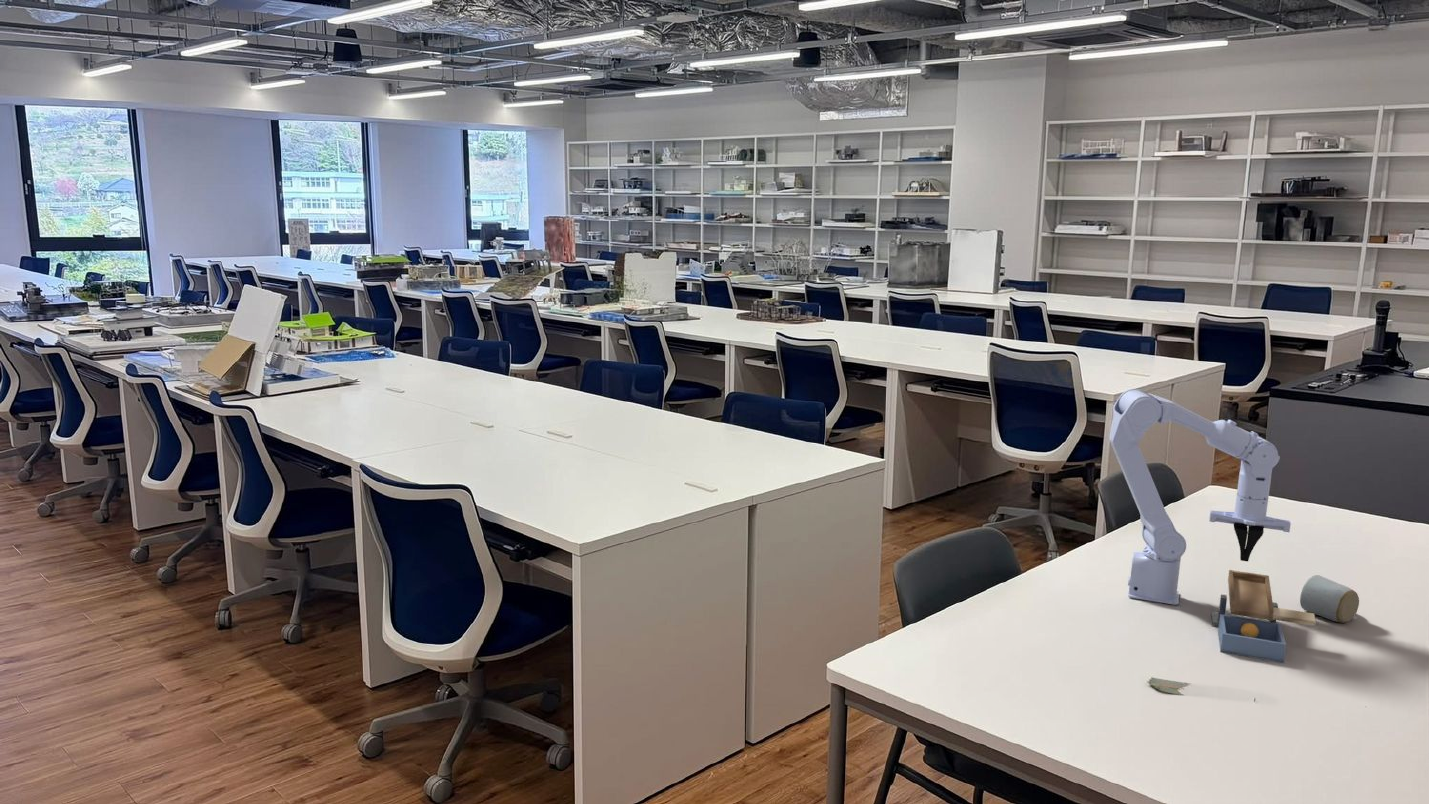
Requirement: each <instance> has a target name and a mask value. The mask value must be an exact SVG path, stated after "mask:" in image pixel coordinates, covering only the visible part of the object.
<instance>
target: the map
mask: <svg viewBox="0 0 1429 804" xmlns="http://www.w3.org/2000/svg"><path fill="white" fill-rule="evenodd" d="M1146 683H1148V685H1151V686H1152V687H1153V688H1155V689H1157V690H1159V691H1162V692H1165V693H1170V694H1174V695H1178V696H1179V695H1180V696H1185V694H1184V693H1181V692H1180V691H1179V690H1181V689H1184V687H1189V685H1191V683H1188V682H1183V681H1182V682H1181V681H1175V680H1171V679H1170V680H1169V679H1163V678H1156V677H1150V678H1149V679H1148V681H1146ZM1253 702H1256V698H1254V700H1253Z"/></svg>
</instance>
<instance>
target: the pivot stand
mask: <svg viewBox="0 0 1429 804" xmlns="http://www.w3.org/2000/svg"><path fill="white" fill-rule="evenodd" d="M1227 603H1228V596H1227V594H1223V593H1221V594H1220V598H1219V606H1218V611H1211V612H1210V614H1211V615H1210V618H1211V626H1212V627H1217V628H1218V627H1219V619H1220V614H1222V615H1228V616H1234V617H1241V618H1247V619H1253V620H1259V621H1265V622H1271V623H1278V624H1281V623H1280V622H1281V621H1277V620H1272V621H1271V620H1264V619H1258V618H1252V617H1246V616H1240V615H1233V614H1230V613H1226V610H1227ZM1273 607H1275V608H1279V604H1278V603H1277V602H1273Z"/></svg>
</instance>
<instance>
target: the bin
mask: <svg viewBox="0 0 1429 804" xmlns="http://www.w3.org/2000/svg"><path fill="white" fill-rule="evenodd" d="M1246 623H1252V624H1254V625H1256V626H1257V628H1258V630H1259V634H1258V636H1257V637H1256V638H1251V637H1245V636H1243V635H1242V633H1241V627H1242V626H1243V625H1244V624H1246ZM1217 635H1218V643H1219V650H1220V651H1219V652H1220V653H1226V654H1231V655H1237V656H1243V657H1249V658H1254V659H1260V660H1266V661H1271V662H1276V663H1285V656H1286V648H1287V643H1286V640H1285V636H1284V632H1283V628H1282V625H1281V623H1280V624H1278V623H1271V622H1265V621H1259V620H1253V619H1247V618H1241V617H1234V616H1228V615H1222V614H1220V619H1219V627H1217Z"/></svg>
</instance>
